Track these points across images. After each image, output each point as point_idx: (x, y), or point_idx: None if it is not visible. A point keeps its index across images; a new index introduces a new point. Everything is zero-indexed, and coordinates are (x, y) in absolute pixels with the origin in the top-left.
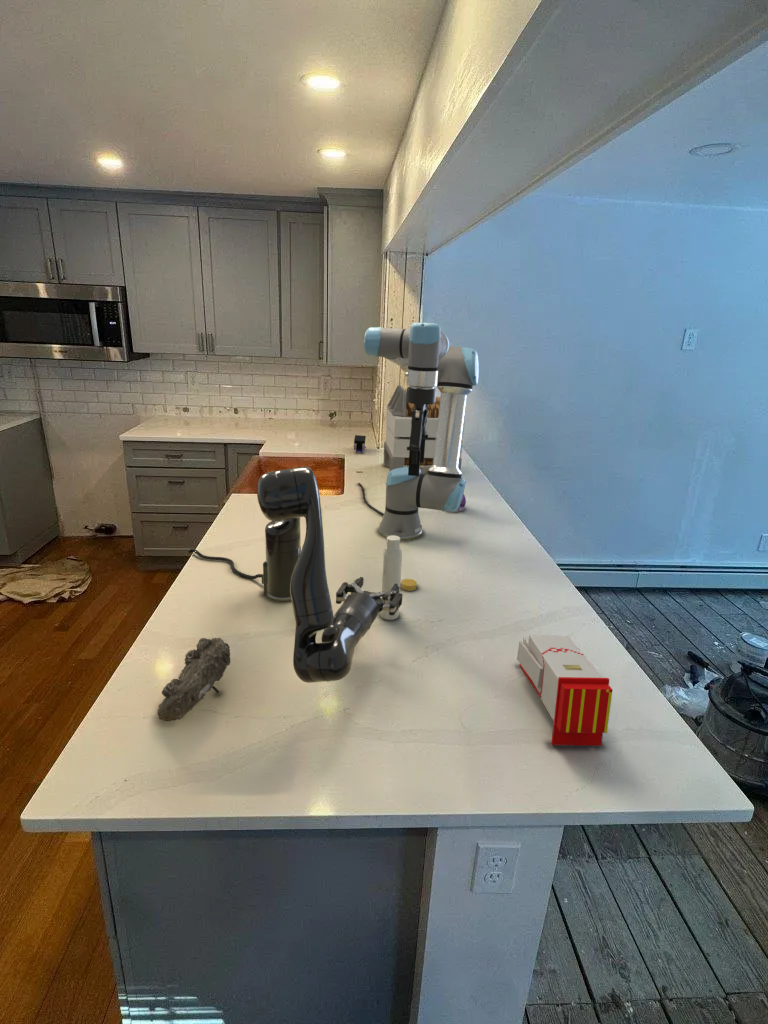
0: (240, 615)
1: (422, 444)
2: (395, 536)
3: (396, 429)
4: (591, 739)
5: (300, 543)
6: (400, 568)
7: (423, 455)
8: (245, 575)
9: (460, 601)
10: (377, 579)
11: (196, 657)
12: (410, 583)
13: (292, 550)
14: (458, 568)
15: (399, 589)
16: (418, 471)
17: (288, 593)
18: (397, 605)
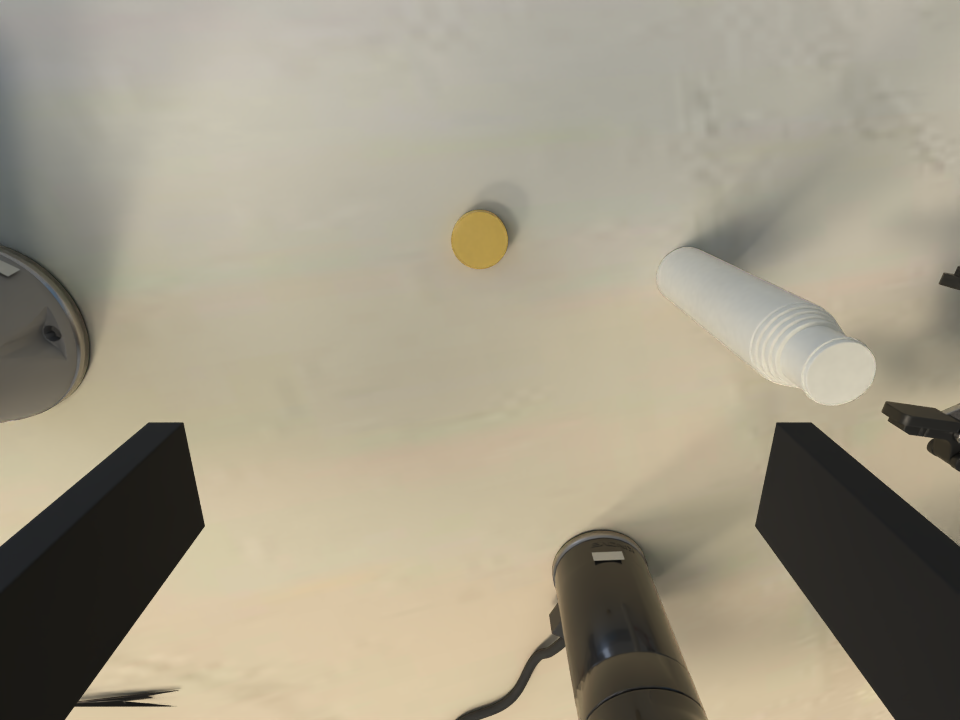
0: (722, 619)
1: (10, 636)
2: (821, 367)
3: None
4: None
5: (634, 660)
6: (780, 288)
7: (129, 482)
8: (531, 673)
9: (550, 26)
10: (449, 348)
11: None
12: (488, 234)
13: (678, 664)
14: (256, 46)
15: (735, 267)
16: (843, 456)
17: (645, 563)
18: None
